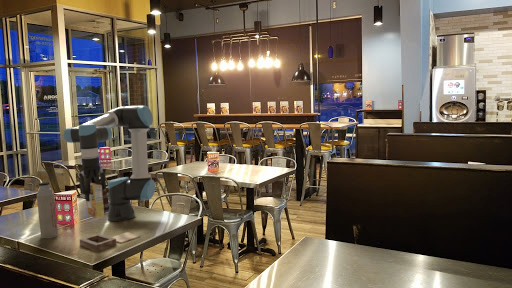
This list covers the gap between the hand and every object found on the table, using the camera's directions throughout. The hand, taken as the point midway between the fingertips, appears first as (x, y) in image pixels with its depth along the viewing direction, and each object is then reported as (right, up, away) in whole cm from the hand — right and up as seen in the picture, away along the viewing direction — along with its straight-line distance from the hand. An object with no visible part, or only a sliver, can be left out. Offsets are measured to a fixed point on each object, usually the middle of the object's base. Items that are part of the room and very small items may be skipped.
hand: (95, 206), depth 198 cm
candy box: (0, -5, +1) cm, 5 cm away
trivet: (+10, -17, +11) cm, 23 cm away
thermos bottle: (-31, -19, +20) cm, 41 cm away
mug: (-23, -12, +72) cm, 77 cm away
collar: (+1, -19, +2) cm, 19 cm away
